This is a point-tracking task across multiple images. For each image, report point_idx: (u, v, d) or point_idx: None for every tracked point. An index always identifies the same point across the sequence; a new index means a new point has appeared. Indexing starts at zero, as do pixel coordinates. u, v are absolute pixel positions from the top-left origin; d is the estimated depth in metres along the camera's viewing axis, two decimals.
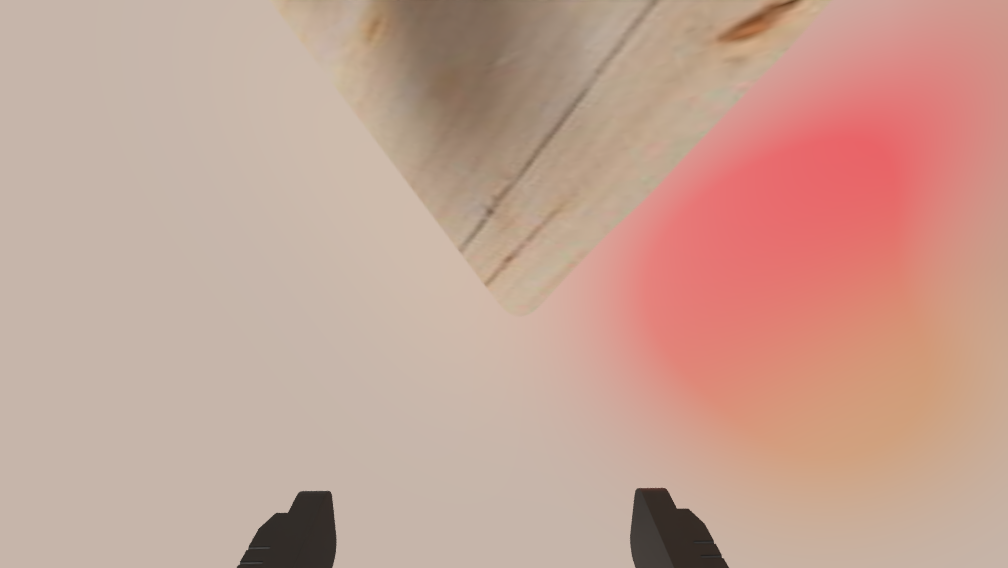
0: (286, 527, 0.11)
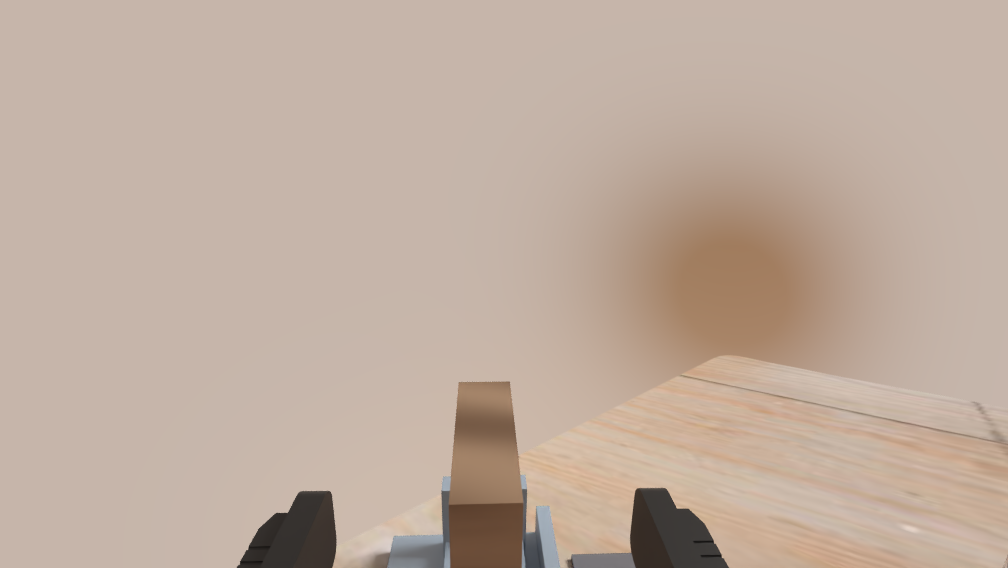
0: (286, 527, 0.11)
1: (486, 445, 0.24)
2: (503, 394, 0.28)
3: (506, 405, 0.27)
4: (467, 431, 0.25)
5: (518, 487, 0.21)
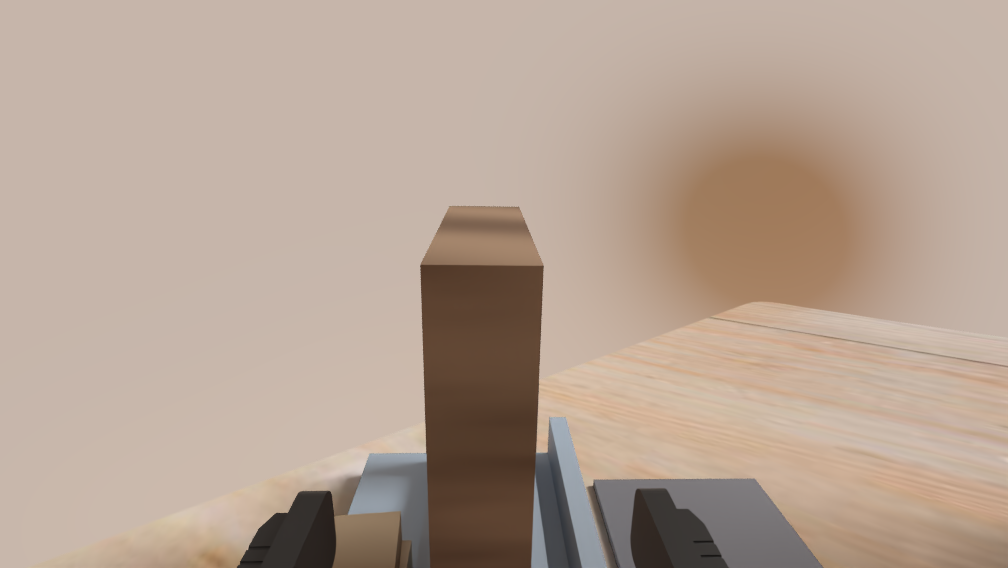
0: (286, 527, 0.11)
1: (485, 234, 0.16)
2: (510, 211, 0.21)
3: (514, 216, 0.19)
4: (457, 227, 0.17)
5: (534, 257, 0.13)
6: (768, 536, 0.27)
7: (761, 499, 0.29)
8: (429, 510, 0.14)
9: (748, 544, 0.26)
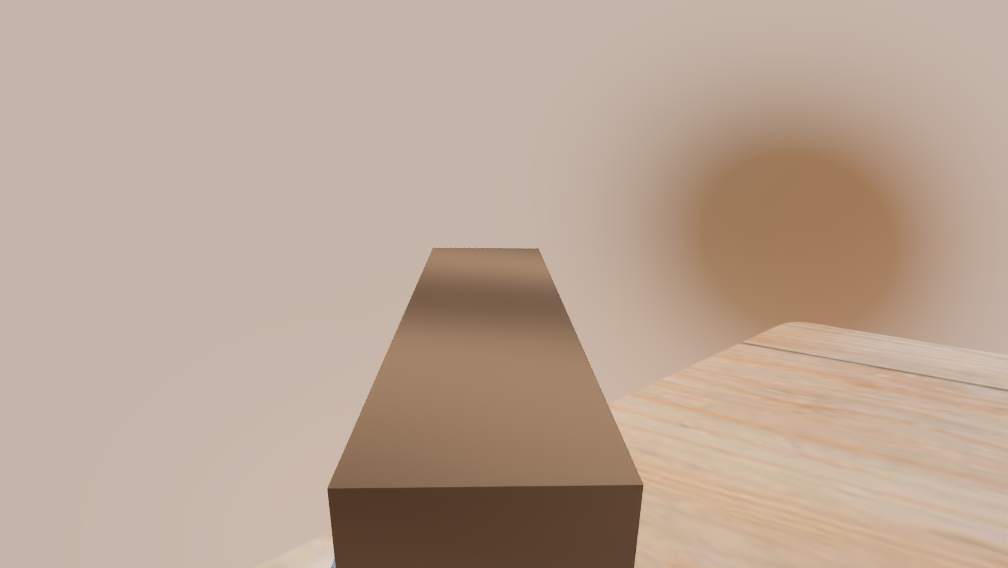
0: None
1: (490, 331, 0.08)
2: (528, 261, 0.13)
3: (535, 274, 0.12)
4: (440, 308, 0.10)
5: (607, 431, 0.06)
6: None
7: None
8: None
9: None
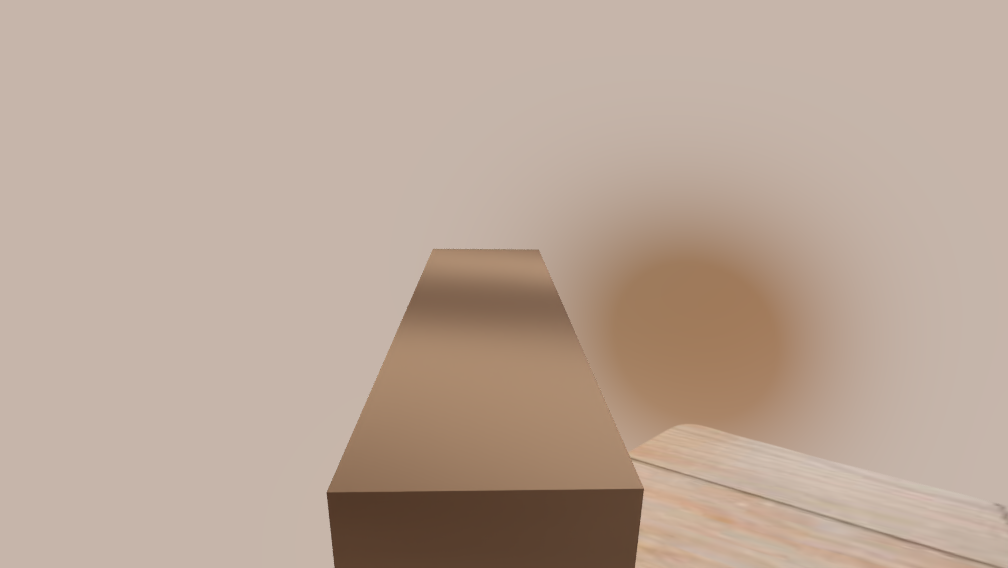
0: None
1: (490, 333, 0.08)
2: (528, 262, 0.13)
3: (535, 275, 0.12)
4: (439, 309, 0.10)
5: (607, 434, 0.06)
6: None
7: None
8: None
9: None
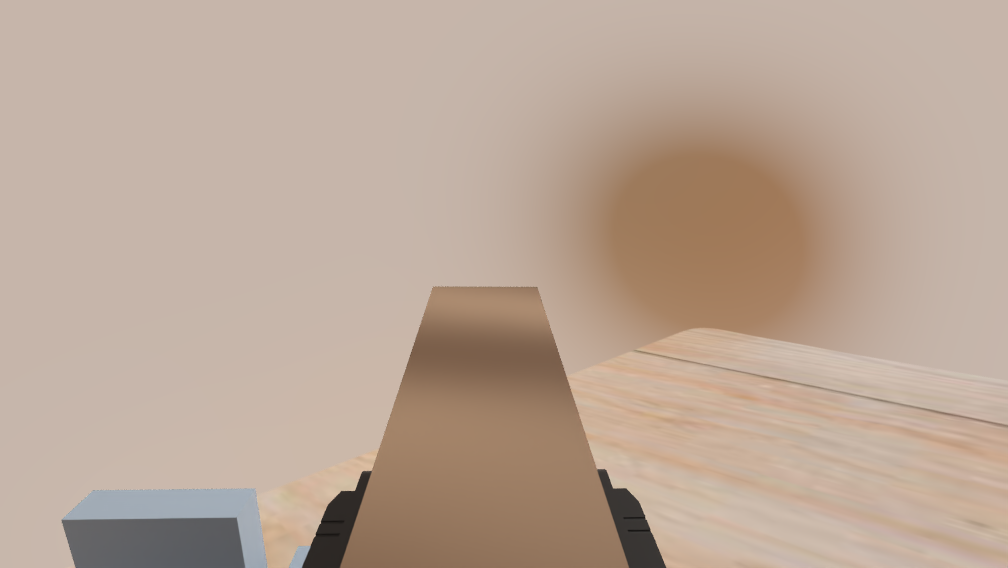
0: (356, 502, 0.12)
1: (488, 393, 0.09)
2: (526, 303, 0.13)
3: (533, 320, 0.12)
4: (439, 364, 0.10)
5: (601, 519, 0.06)
6: None
7: None
8: None
9: None
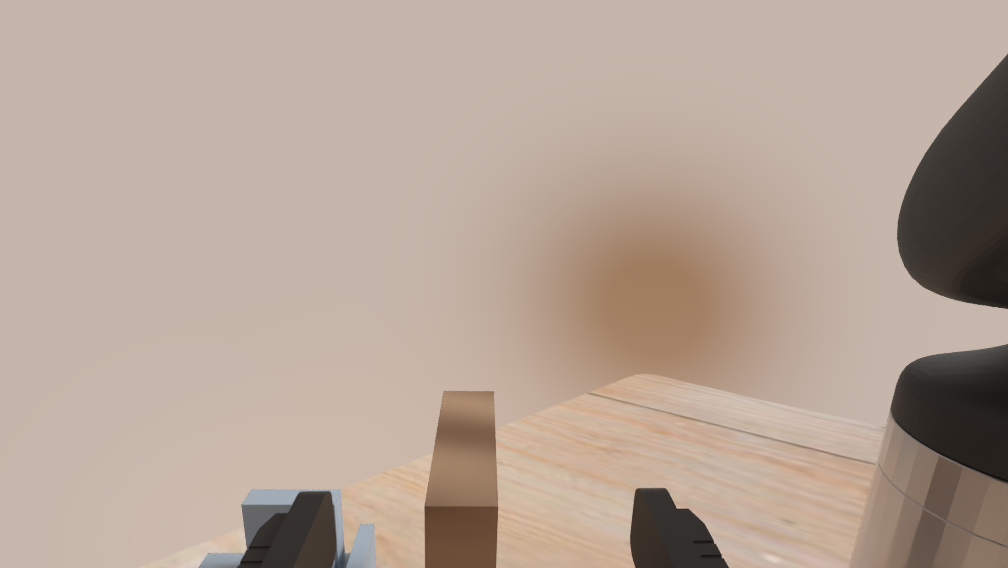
0: (286, 527, 0.11)
1: (466, 451, 0.24)
2: (486, 403, 0.29)
3: (488, 414, 0.28)
4: (448, 437, 0.25)
5: (494, 491, 0.22)
6: None
7: None
8: None
9: None
